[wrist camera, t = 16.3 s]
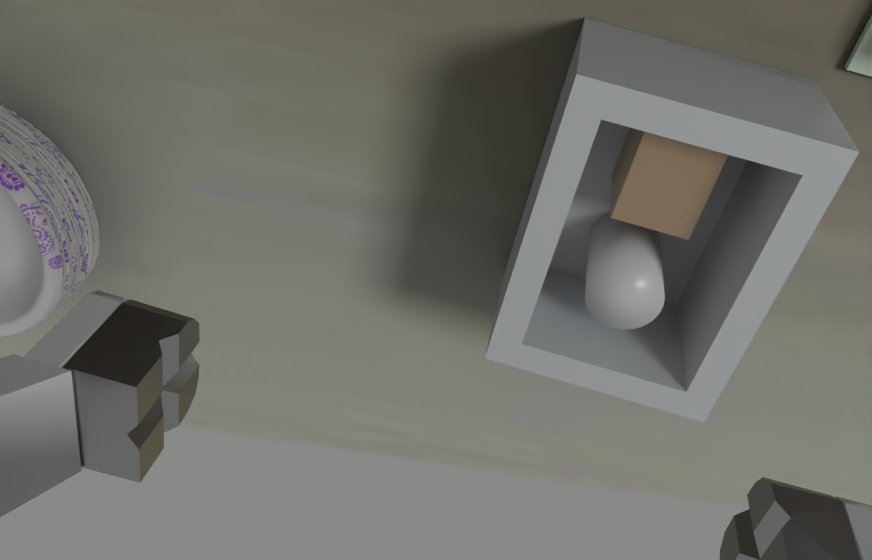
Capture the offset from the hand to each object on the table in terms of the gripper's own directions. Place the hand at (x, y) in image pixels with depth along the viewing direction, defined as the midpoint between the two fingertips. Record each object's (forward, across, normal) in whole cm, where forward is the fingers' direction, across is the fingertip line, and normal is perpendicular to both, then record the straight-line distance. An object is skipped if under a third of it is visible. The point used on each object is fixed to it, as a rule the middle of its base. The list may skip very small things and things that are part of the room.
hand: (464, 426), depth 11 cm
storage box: (+34, -7, +11) cm, 36 cm away
